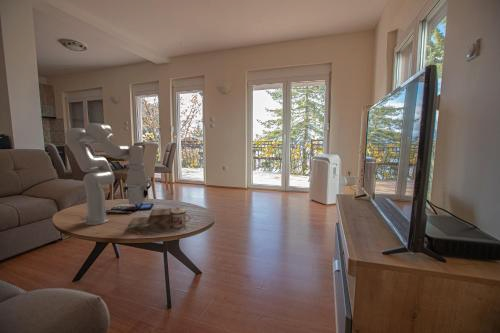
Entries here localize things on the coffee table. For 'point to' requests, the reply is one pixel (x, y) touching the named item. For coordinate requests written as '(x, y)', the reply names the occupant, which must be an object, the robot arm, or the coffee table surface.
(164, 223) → the step stand
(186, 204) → the coffee table surface
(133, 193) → the light bulb box
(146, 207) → the handheld game console
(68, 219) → the coffee table surface
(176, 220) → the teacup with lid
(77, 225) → the coffee table surface
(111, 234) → the coffee table surface
